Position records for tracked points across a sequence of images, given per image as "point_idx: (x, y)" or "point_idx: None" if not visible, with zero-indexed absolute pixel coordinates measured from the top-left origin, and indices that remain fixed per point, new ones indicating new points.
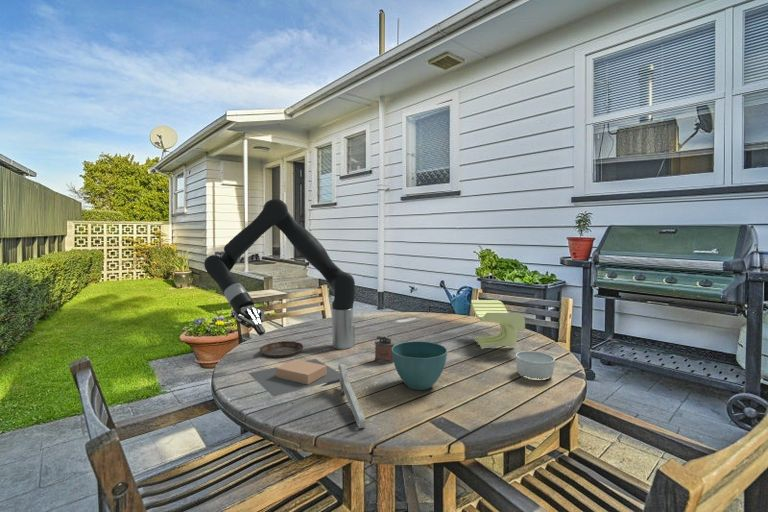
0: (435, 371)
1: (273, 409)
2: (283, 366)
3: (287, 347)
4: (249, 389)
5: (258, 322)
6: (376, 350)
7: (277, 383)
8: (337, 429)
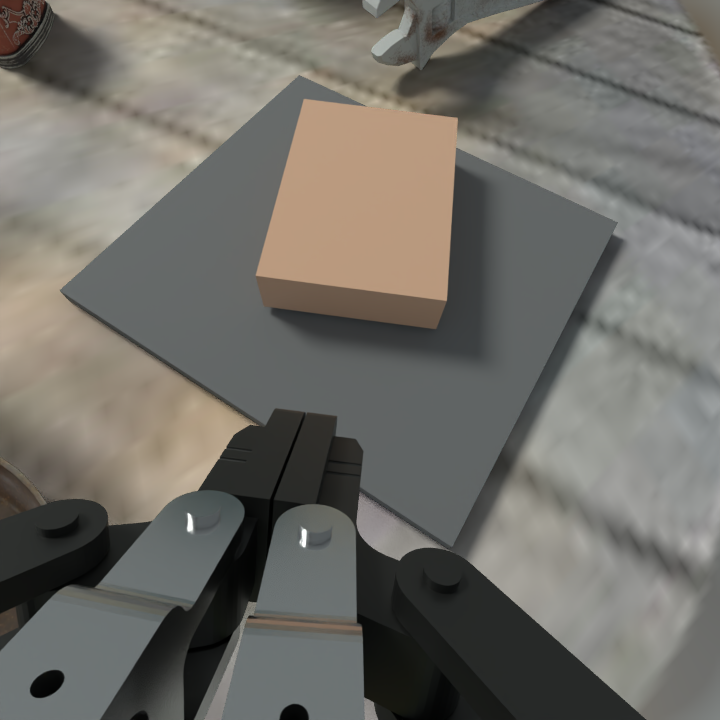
0: None
1: (670, 191)
2: (406, 274)
3: None
4: (597, 396)
5: (243, 525)
6: None
7: (498, 282)
8: (638, 12)
